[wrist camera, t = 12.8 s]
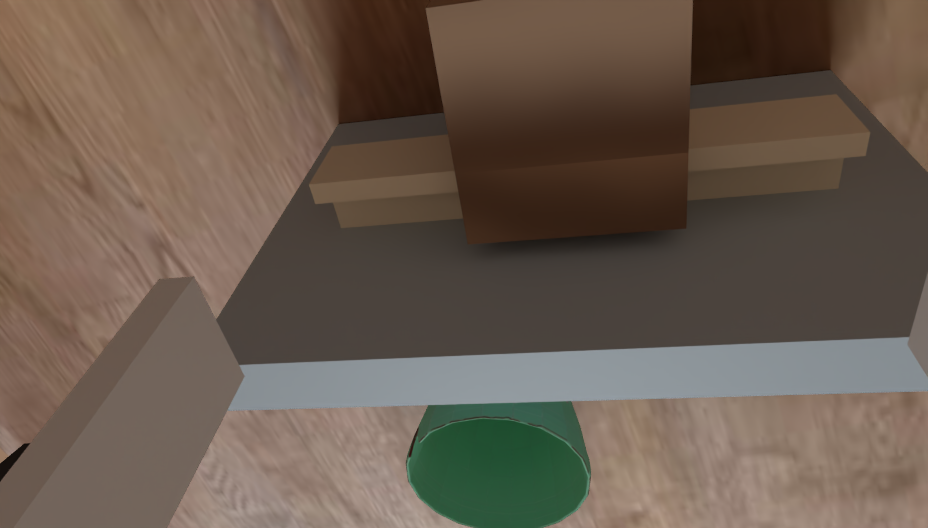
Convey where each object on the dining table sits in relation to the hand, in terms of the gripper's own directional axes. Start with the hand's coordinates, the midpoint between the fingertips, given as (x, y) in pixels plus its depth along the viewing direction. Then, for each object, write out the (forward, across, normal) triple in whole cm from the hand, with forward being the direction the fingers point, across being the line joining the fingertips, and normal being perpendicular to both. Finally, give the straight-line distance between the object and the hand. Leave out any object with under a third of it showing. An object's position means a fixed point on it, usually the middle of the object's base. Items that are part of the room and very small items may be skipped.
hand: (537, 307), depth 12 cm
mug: (+22, -5, -24) cm, 33 cm away
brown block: (+19, +1, -1) cm, 19 cm away
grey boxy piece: (+22, 0, -8) cm, 23 cm away
